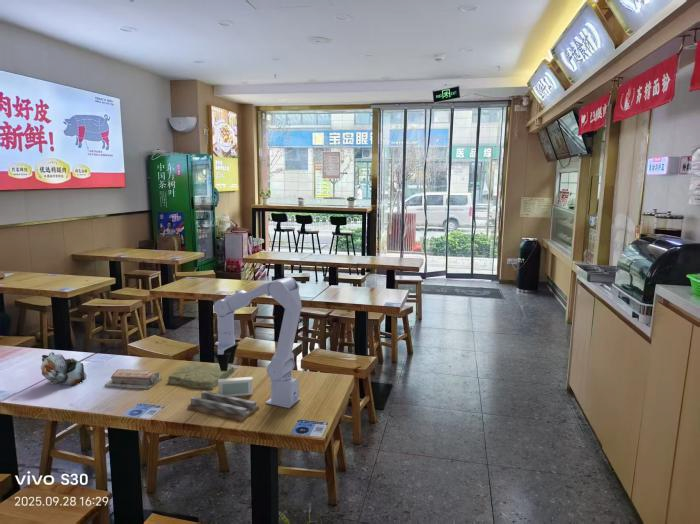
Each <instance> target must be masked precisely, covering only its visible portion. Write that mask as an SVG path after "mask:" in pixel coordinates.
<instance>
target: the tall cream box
mask: <svg viewBox="0 0 700 524" xmlns="http://www.w3.org/2000/svg"><path fill="white" fill-rule="evenodd" d="M217 386H218V387H217V390H218V391H217V392H218V393H217V394H222V395H226V396H231V397H239V396H240V397H242V396H253V392H254V391H253V389H254V388H253V386H254V385H253V376H246V377H245V376H244V377H227V378H226V379H219V380H218V385H217Z"/></svg>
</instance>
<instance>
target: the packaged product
mask: <svg viewBox="0 0 700 524" xmlns="http://www.w3.org/2000/svg"><path fill="white" fill-rule="evenodd" d="M110 378H111V380H109V381H107V382H106V384H105V383H104V387H108V386H117V387H116V388H124V387H127V389H143V388H144V389H146V390H150V389H151V388H153V387H154V386H156V384H158V383H159V382H161V381H162V379H163V377H162V376H160V372H159V371H157V370H144V369H132V368H131V369H129V368H127V369H125V368H119V369H118V368H117V369H116V370H115V372H114V373H113V374H112V375H111V376H110Z"/></svg>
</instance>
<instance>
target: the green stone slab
mask: <svg viewBox="0 0 700 524" xmlns="http://www.w3.org/2000/svg"><path fill="white" fill-rule="evenodd" d="M234 372H235V369H234V366H233V365H228V369H227V371H221V369H220V366H219V364H217V363H216V364H215V363H214V364H213V363H205V362H204V363H203V362H196V361H195V362H194V361H191V362H189V363H187V364H184V365H182V366H181V367H179V368H178V369H176V370H175V371H174V372H171V374H170V375H168V380H167V383H168V385H169V384H170V385H180V386H181V385H182V386H187V387H189V388H196V389H197V388H199V389H206V390H207V389H208V390H213V389H215V388H216V387H217V386H218V380H219V379H226V378H229V377H230V376H231V375H232V374H234Z"/></svg>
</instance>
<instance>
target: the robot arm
mask: <svg viewBox="0 0 700 524" xmlns="http://www.w3.org/2000/svg"><path fill="white" fill-rule="evenodd" d="M299 291H300V285H299V284H298V282H297V281H296V280H295V278H293V277H292V276H285V277H283V278H278V279H275V280H271V281H268V282H265V283H262V284H260V285H258V286H256V287H255V288H253V289H250V290H248V291H246V290H243V289H242V290H241V289H238V290H235V291H234V292H235V293H233V294H227V295H226V296H224V298H222V299H217V301H215V302H214V304H213V312H214V313H215V315H216V319H217V341H216V342H215V343H214V345H215V346H217V351H215V352H214V354H213V355H214V357H215V358H216V360H217V362H218V365H219V366H220V369H221V371H227V369H228V366H229V364H231V365H232V364H234V362H235V361H234V360H235V356H236V352H237V348H238V346H239V343H238V342H236V338H235V321H234V320H235V319H234V318H235V311H238V310H240V309H243V308H245V307H248V306H249V305H250V303H251V301H252V300H254V299H256V298H259V297H261V296H263V295H266V296H267V297H271V298H272V299H274V300H275V301H276V302H277V303H279V305H280V306H282V307H283V309H284V311H283V318H282V322H281V327H280V331H279V334H278V335H279V337H278V339H277V340H278V341H277V346H276V351H275V353H274V355H273V356H272V357H271V360H270V363H269V364H268V365H267V367H266V373H267V376H268V377H269V379H270V398H269V399H268V400H267V401H265V404H268V405H274V406H277V407H282V408H286V409H290V408H291V407H292V406H294V405H295V404H296V403H297V402H298V401H300V400H301V398H300V382H299V381H298V379H296V378H294V377H293V376H292V371H293V370H294V369H295V361H294V360H295V354H294V352H293V349H294V343H295V339H296V338H295V337H296V335H297V329H298V325H299V321H300V316H301V311H302V307H303V306H302V300H301V296H300V295H301V294H300V292H299Z"/></svg>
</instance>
